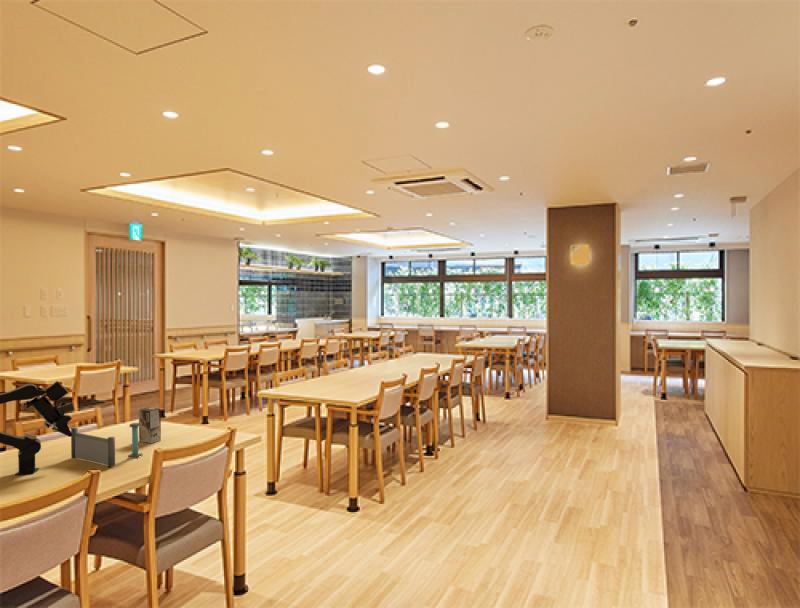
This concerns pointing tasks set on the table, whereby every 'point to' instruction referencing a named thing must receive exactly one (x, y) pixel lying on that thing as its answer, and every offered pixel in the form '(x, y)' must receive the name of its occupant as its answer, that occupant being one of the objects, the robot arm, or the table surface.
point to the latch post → (135, 440)
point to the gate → (92, 448)
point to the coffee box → (150, 425)
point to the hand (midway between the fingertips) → (71, 435)
